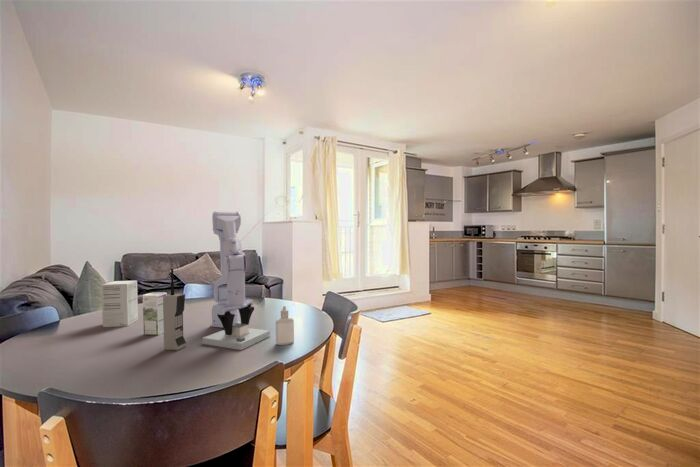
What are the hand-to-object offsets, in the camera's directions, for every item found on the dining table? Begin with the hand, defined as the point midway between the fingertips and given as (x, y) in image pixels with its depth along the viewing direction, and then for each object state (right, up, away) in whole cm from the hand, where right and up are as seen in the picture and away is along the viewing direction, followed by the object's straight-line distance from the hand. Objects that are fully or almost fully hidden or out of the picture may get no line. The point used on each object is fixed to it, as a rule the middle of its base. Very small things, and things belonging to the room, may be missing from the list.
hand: (236, 331), depth 111 cm
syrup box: (-33, -4, +10) cm, 34 cm away
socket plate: (0, -3, 0) cm, 3 cm away
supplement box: (-55, -4, +24) cm, 60 cm away
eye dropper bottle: (+17, -3, -4) cm, 18 cm away
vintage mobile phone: (-17, -4, -7) cm, 19 cm away
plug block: (0, -3, 0) cm, 3 cm away
